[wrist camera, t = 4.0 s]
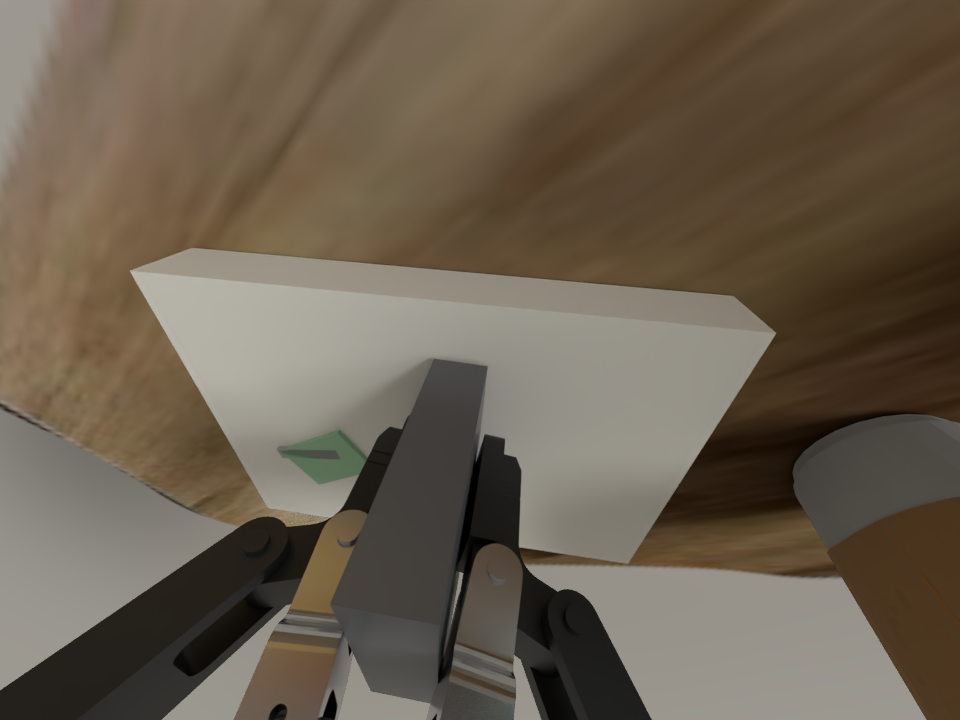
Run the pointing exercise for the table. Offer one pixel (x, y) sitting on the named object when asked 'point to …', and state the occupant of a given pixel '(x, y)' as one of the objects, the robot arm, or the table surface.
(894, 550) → the coffee cup
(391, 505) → the dark gray beam
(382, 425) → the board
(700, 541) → the table surface
